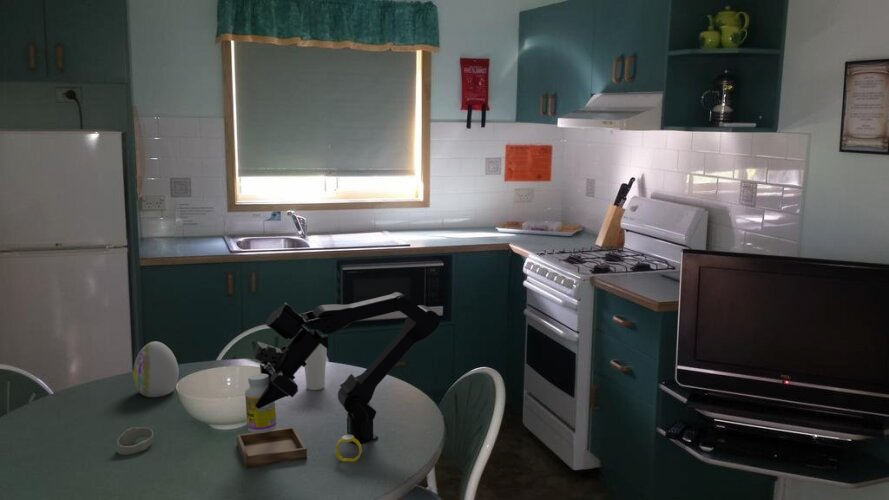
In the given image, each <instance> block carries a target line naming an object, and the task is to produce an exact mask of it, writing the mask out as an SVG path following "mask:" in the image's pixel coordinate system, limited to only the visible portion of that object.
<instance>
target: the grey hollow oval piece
mask: <svg viewBox="0 0 889 500" xmlns="http://www.w3.org/2000/svg"><path fill="white" fill-rule="evenodd" d="M144 437H145V438H147V439H144V440H142V441H141V442H139V443H136V442H137V441H138V440H139V439H140V438H144ZM116 443H117V446H116V451H117V453H118V454H119V455H123V456H125V455H133V454H138V453H139V452H143V451H146V450H147V449H148V448H149V447H150V446H151V445H152V444H153V443H154V431H153V429H151V428H150V427H142V426H141V427H135V426H132V427H130V428H128V429H125V430H124V431H123V433H121V435H119V437H118V439H117V440H116ZM135 443H136V444H135Z"/></svg>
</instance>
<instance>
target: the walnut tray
mask: <svg viewBox="0 0 889 500" xmlns="http://www.w3.org/2000/svg"><path fill="white" fill-rule="evenodd" d="M236 442H237V443H236V445H237V447H238V451H239V453H240V456H241V458H242V461H243V464H244V466H245V468H246V469H249V468H255V467H261V466H269V465H275V464H276V465H277V464H282V463H287V462H288V463H289V462H294V461H303V460H307V459H308V455H307V454H308V453H307V452H308V449H307V447H306V446H305V443H304V442H303V439H302V438H301V436H300V434H299V432H298V431H297V429H296V427H295V426H292V427H286V428H278V429H273V430H272V431H269V432H265V433H252V432H248V433H241V434H236Z"/></svg>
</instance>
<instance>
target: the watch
mask: <svg viewBox="0 0 889 500" xmlns="http://www.w3.org/2000/svg"><path fill="white" fill-rule="evenodd" d="M351 441H353V442H355V443H356V444H355V445H357V447H358V450H359V452H358V455H356V456H355V457H354V458H352V457H351V458H348V457H343V456H342V455H341V454H340V453H339V450H338V449H339V445H340V443H342V442H344V443H352V442H351ZM362 451H363V450H362V444H360V442H359V441H358V440H357V439H355V438H354V436H353V435H347V434H344V435H342V437H341V438H340V439H339V440H338V441H337V443H336V445H335V451H334V453H335V456H336V458H337V459H338V460H339V461H341V462H343V463H344V462H345V463H346V462H353V463H355V462H356V461H358V460H359V459H360V457H361V456H362V455H361V454H362Z"/></svg>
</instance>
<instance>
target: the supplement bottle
mask: <svg viewBox="0 0 889 500" xmlns="http://www.w3.org/2000/svg"><path fill="white" fill-rule="evenodd" d="M267 377H268V378H269V376H268V375H267V374H261V373H255V374H251V375H249V376H248V378H247V381H248V384H249V386H248V387H246V389H245V392H244V397H245V408H246V409H245V410H246V411H245V412H246V424H247V425H246V426H247V430H248V431H249V433H265V432H269V431H272V430H276V427H277V416H276V415H277V414H276V401H274V402H272V403H270V404H268V405H266V406H264V407H261V408H259V409H258V408H257V407H256V406H255V405H256V403H257V402H258V400H259V399H260V397H261V395H262V394H263V392H264V391H265V389H266V388H267Z"/></svg>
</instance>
